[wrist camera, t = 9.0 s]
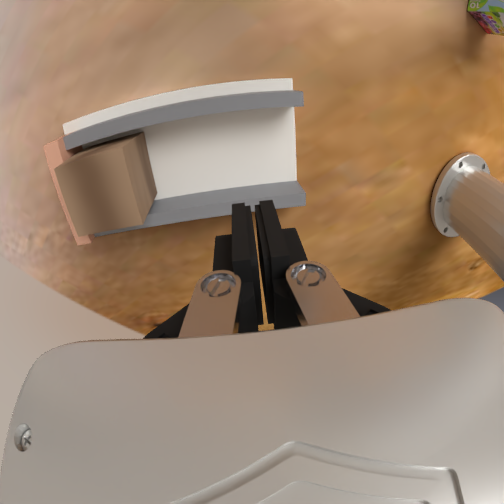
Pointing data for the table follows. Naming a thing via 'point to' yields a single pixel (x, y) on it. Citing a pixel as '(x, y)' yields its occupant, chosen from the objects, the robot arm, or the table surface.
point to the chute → (201, 148)
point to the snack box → (488, 15)
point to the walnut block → (108, 185)
